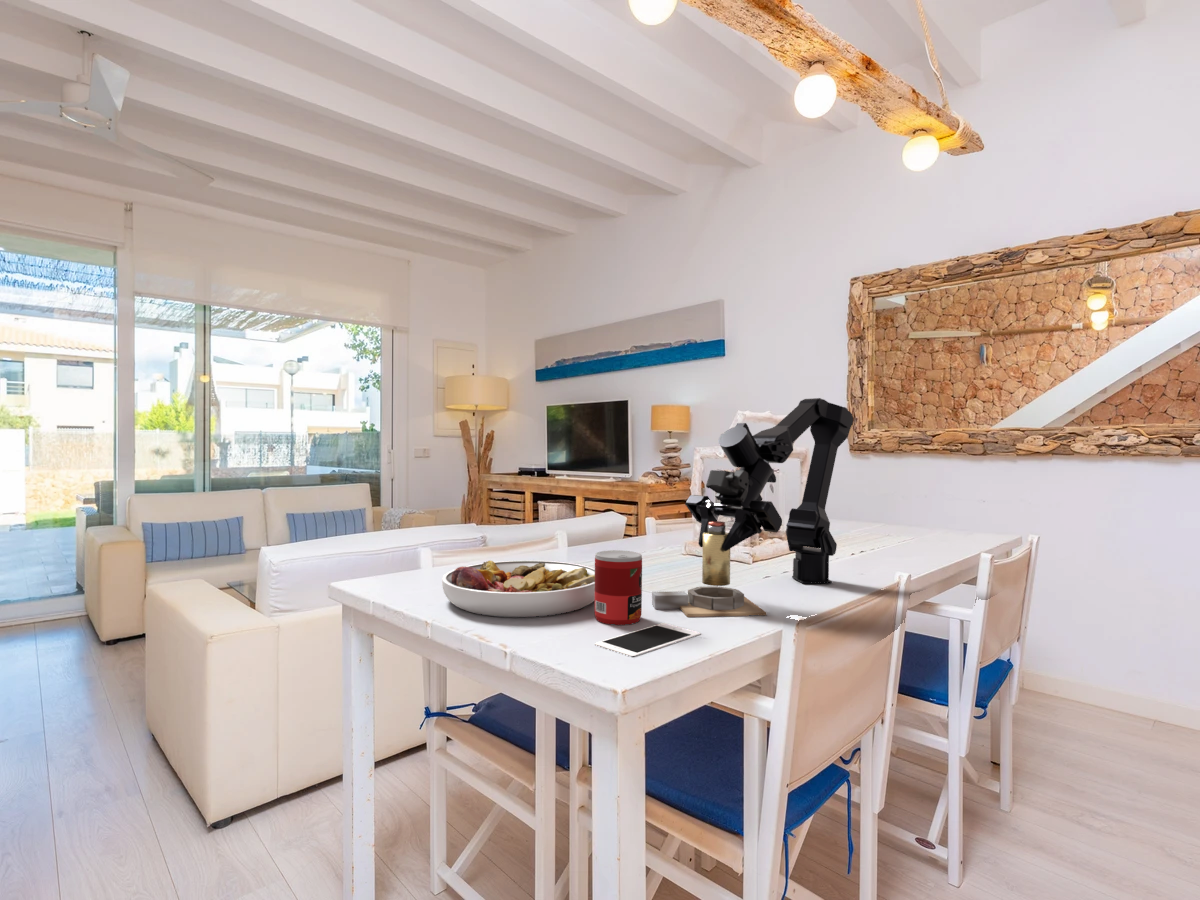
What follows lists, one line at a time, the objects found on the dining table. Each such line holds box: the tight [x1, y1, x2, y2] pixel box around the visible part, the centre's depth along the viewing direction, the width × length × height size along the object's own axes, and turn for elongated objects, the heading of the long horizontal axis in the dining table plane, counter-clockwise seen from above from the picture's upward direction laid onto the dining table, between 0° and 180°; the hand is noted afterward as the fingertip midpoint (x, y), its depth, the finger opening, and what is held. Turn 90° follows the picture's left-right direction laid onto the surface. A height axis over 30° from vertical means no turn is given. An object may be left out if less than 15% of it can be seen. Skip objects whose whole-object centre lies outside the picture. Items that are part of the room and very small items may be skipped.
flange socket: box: [651, 585, 767, 618], centre depth 118 cm, size 18×14×2 cm
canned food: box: [594, 549, 643, 626], centre depth 109 cm, size 8×8×11 cm
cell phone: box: [594, 622, 702, 657], centre depth 98 cm, size 8×16×1 cm, turn 135°
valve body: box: [701, 520, 731, 587], centre depth 118 cm, size 5×5×11 cm
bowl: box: [441, 560, 595, 618], centre depth 122 cm, size 30×30×8 cm
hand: (711, 547), depth 117 cm, fingers closed on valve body, 5 cm apart
